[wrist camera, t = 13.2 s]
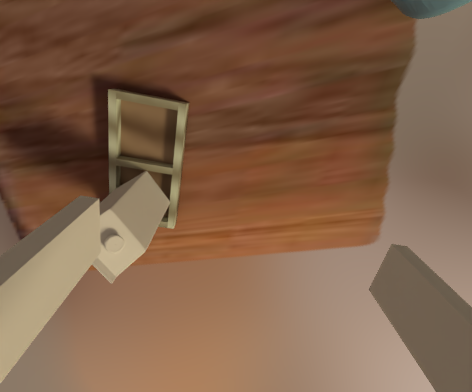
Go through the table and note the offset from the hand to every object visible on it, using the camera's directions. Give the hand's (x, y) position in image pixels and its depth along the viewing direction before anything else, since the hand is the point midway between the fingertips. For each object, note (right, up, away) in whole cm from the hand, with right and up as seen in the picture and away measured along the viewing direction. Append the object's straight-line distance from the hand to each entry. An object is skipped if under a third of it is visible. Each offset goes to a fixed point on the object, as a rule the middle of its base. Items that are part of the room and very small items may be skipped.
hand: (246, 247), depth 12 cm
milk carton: (-17, +2, +35) cm, 40 cm away
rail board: (-16, +9, +36) cm, 40 cm away
